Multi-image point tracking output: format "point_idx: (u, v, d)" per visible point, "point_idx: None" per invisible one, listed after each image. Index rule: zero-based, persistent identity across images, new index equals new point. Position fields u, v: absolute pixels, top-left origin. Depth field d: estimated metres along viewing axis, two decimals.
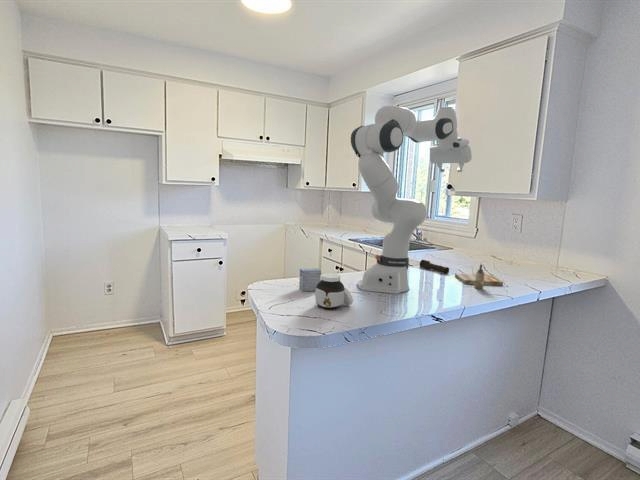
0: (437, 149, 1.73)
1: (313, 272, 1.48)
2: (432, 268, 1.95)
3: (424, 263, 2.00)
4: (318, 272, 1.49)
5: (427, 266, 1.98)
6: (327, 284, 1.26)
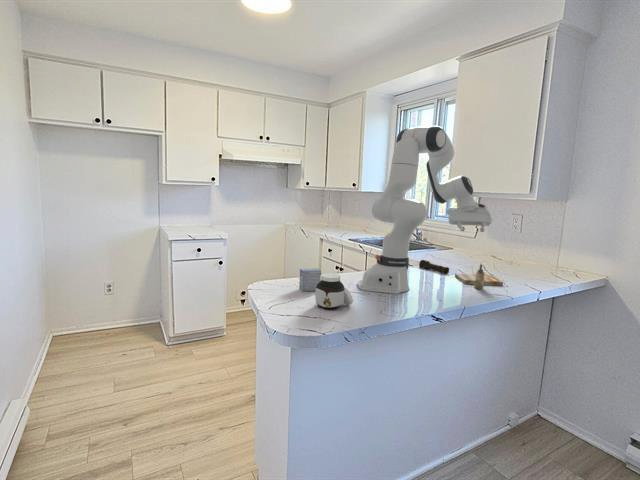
0: (459, 209, 1.79)
1: (313, 272, 1.48)
2: (432, 268, 1.95)
3: (424, 263, 1.99)
4: (318, 272, 1.49)
5: (427, 266, 1.98)
6: (327, 284, 1.26)
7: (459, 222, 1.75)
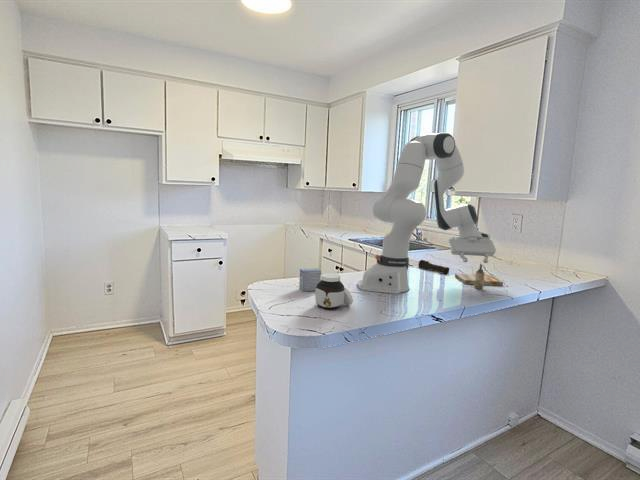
0: (461, 239, 1.74)
1: (313, 272, 1.48)
2: (432, 268, 1.94)
3: (423, 263, 1.99)
4: (318, 272, 1.49)
5: (426, 266, 1.97)
6: (327, 284, 1.26)
7: (462, 253, 1.70)
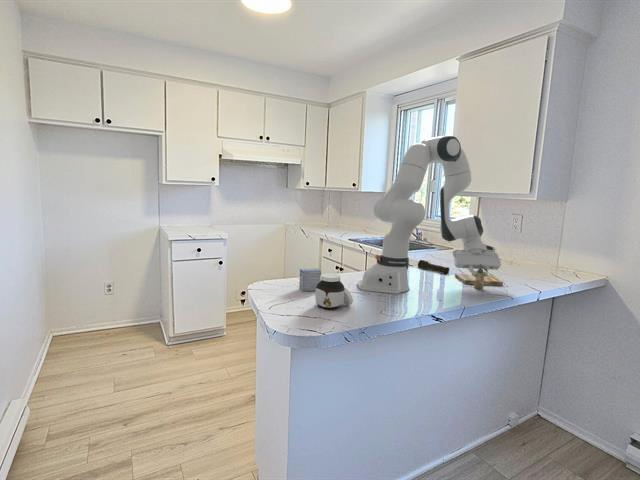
0: (465, 252, 1.68)
1: (313, 272, 1.48)
2: (432, 268, 1.94)
3: (423, 263, 1.99)
4: (318, 272, 1.49)
5: (426, 266, 1.97)
6: (327, 284, 1.26)
7: (471, 266, 1.64)
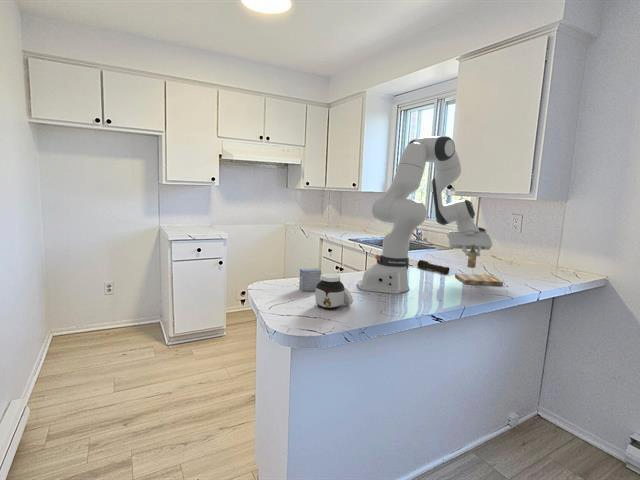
0: (459, 233, 1.80)
1: (313, 272, 1.48)
2: (432, 268, 1.94)
3: (423, 263, 1.99)
4: (318, 272, 1.49)
5: (426, 266, 1.97)
6: (327, 284, 1.26)
7: (464, 247, 1.76)
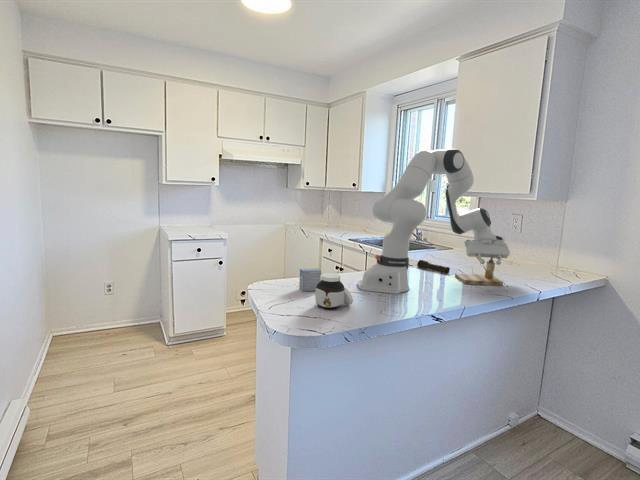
0: (476, 241, 1.80)
1: (313, 272, 1.48)
2: (432, 268, 1.94)
3: (423, 263, 1.99)
4: (318, 272, 1.49)
5: (426, 266, 1.97)
6: (327, 284, 1.26)
7: (479, 255, 1.77)
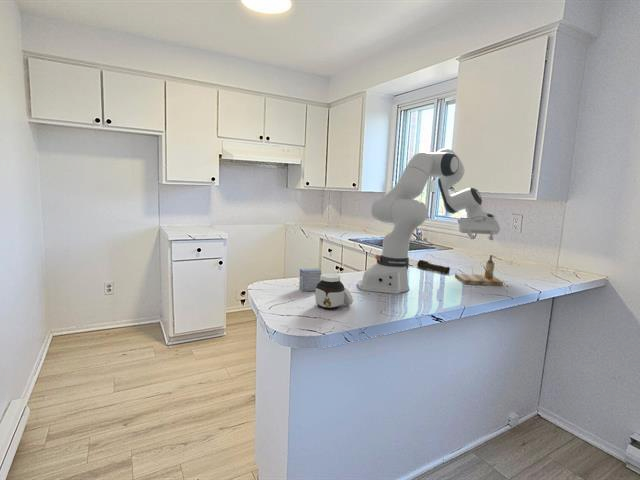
0: (469, 219, 1.92)
1: (313, 272, 1.48)
2: (432, 268, 1.94)
3: (423, 263, 1.99)
4: (318, 272, 1.49)
5: (426, 266, 1.97)
6: (327, 284, 1.26)
7: (469, 231, 1.88)
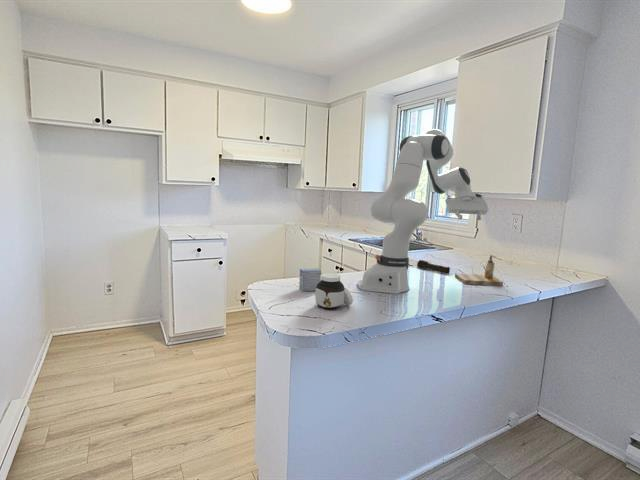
0: (457, 199, 1.88)
1: (313, 272, 1.48)
2: (432, 268, 1.94)
3: (423, 263, 1.99)
4: (318, 272, 1.49)
5: (426, 266, 1.97)
6: (327, 284, 1.26)
7: (457, 211, 1.84)
